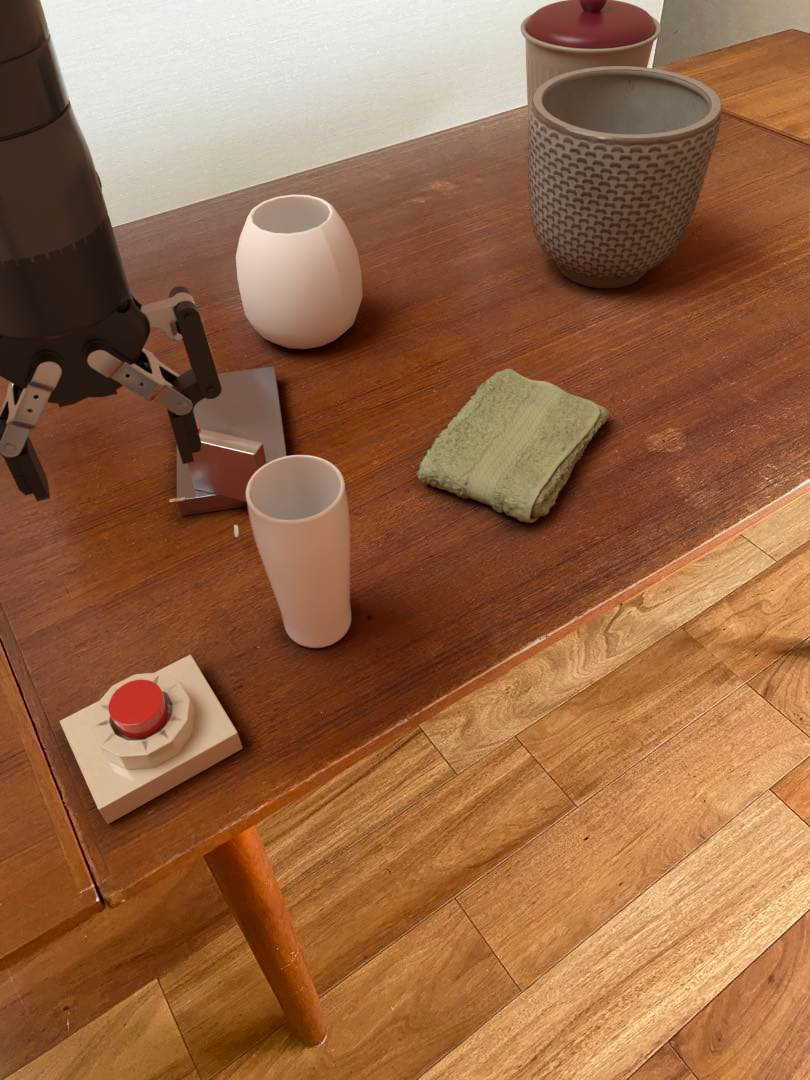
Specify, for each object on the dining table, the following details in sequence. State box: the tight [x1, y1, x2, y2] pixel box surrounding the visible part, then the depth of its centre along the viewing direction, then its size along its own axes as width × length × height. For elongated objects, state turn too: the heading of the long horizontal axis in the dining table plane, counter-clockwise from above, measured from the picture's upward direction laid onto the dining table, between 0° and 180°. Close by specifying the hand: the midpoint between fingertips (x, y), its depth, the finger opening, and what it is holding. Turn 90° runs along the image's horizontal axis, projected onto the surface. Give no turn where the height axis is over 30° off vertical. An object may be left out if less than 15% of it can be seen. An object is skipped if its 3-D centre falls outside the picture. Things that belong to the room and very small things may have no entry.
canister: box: [520, 0, 662, 120], centre depth 117 cm, size 18×18×21 cm
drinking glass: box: [246, 454, 353, 649], centre depth 63 cm, size 7×7×15 cm
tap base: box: [168, 365, 288, 539], centre depth 81 cm, size 24×11×2 cm, turn 10°
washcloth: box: [416, 368, 611, 524], centre depth 80 cm, size 13×18×3 cm
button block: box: [59, 654, 243, 825], centre depth 60 cm, size 10×8×4 cm
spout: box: [187, 427, 267, 502], centre depth 74 cm, size 7×2×6 cm, turn 70°
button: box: [109, 680, 169, 739], centre depth 58 cm, size 4×4×2 cm
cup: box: [235, 194, 364, 350], centre depth 92 cm, size 13×13×14 cm
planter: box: [527, 66, 723, 290], centre depth 97 cm, size 20×20×19 cm
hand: (116, 472), depth 52 cm, fingers open, 8 cm apart
